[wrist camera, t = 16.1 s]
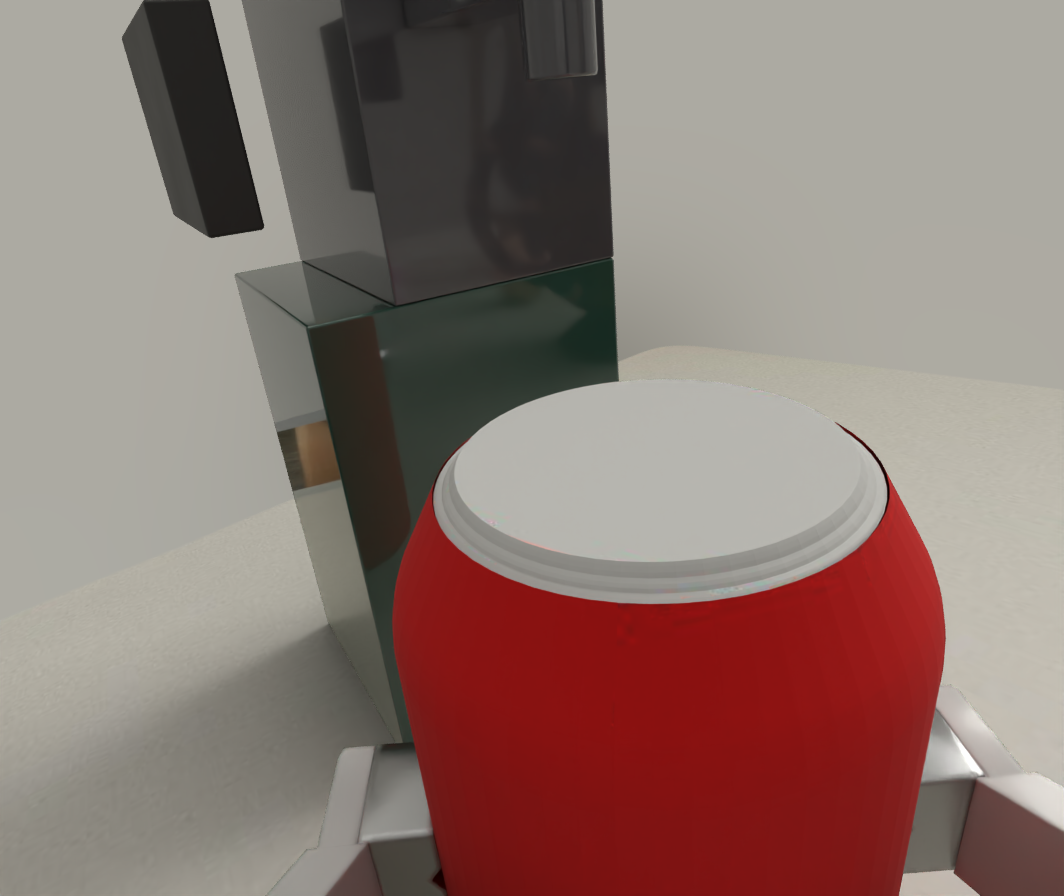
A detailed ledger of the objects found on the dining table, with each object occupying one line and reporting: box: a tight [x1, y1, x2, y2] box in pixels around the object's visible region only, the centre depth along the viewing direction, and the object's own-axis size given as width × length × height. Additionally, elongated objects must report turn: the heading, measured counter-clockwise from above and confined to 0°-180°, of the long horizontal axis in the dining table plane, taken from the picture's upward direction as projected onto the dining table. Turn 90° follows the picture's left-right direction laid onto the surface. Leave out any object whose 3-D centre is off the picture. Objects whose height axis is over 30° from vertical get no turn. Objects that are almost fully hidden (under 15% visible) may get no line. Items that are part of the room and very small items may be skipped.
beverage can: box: [392, 379, 946, 896], centre depth 10 cm, size 6×6×12 cm
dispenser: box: [235, 0, 619, 743], centre depth 19 cm, size 8×13×21 cm, turn 31°
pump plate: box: [122, 0, 264, 238], centre depth 17 cm, size 1×6×4 cm, turn 31°
